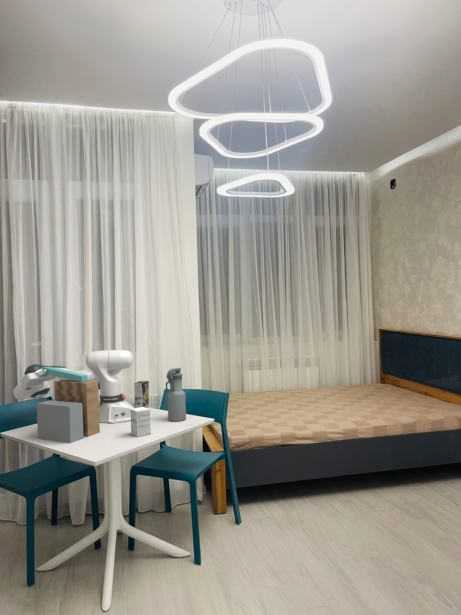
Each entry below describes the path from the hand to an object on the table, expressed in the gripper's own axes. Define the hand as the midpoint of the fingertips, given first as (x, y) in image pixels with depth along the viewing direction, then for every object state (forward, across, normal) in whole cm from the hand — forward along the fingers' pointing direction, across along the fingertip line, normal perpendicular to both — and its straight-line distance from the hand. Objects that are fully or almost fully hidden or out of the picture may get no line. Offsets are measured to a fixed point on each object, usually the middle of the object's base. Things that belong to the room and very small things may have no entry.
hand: (50, 369), depth 240 cm
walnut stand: (0, 0, -36) cm, 36 cm away
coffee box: (-5, -59, -34) cm, 68 cm away
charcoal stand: (0, +11, -36) cm, 38 cm away
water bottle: (+29, -40, -53) cm, 72 cm away
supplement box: (+29, -8, -53) cm, 61 cm away
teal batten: (+7, 0, -8) cm, 11 cm away
